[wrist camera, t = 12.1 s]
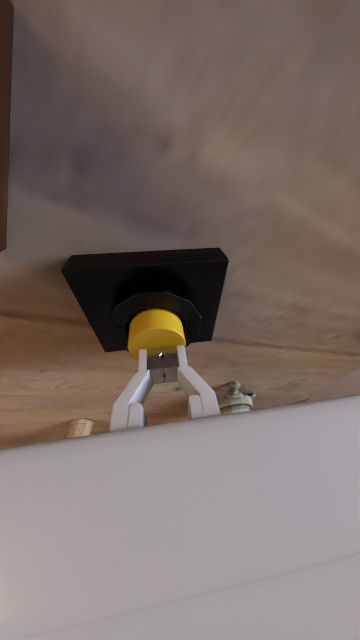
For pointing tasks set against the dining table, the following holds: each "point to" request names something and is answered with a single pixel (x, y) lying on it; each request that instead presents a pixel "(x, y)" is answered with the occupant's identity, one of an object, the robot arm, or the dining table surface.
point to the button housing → (148, 290)
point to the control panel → (5, 108)
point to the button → (154, 330)
